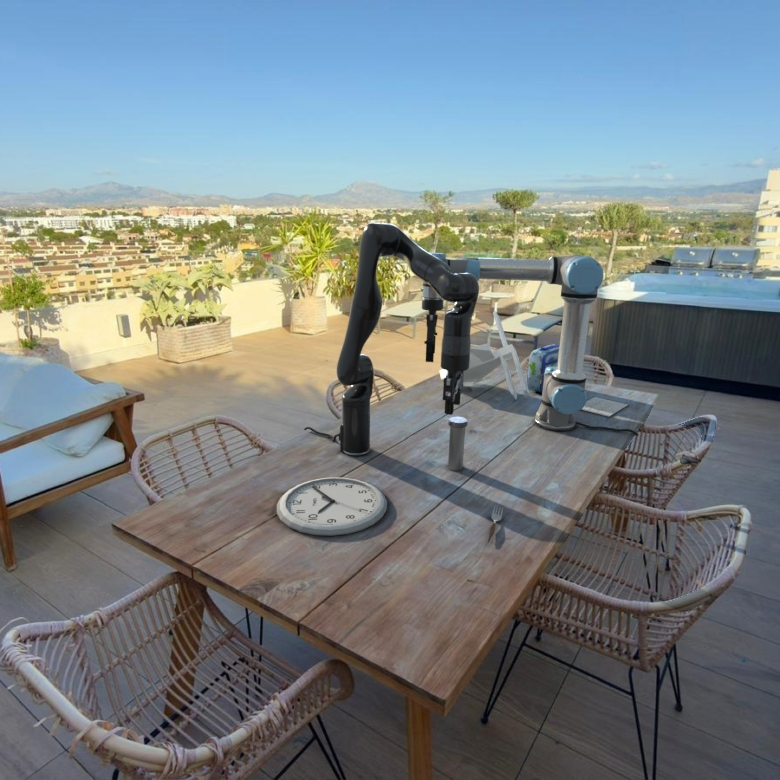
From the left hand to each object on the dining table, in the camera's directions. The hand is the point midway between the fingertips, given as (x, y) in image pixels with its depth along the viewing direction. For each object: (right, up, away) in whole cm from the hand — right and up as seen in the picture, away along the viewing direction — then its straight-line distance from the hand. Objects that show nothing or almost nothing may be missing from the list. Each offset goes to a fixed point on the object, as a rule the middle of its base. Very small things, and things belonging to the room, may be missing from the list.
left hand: (452, 409), depth 142 cm
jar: (+4, -20, +24) cm, 32 cm away
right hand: (-2, +17, +47) cm, 50 cm away
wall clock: (-33, -26, +1) cm, 42 cm away
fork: (+9, -30, -9) cm, 33 cm away
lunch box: (+58, +6, +108) cm, 123 cm away
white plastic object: (+25, +4, +101) cm, 104 cm away
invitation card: (+75, -2, +84) cm, 112 cm away
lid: (+4, -4, +20) cm, 21 cm away
